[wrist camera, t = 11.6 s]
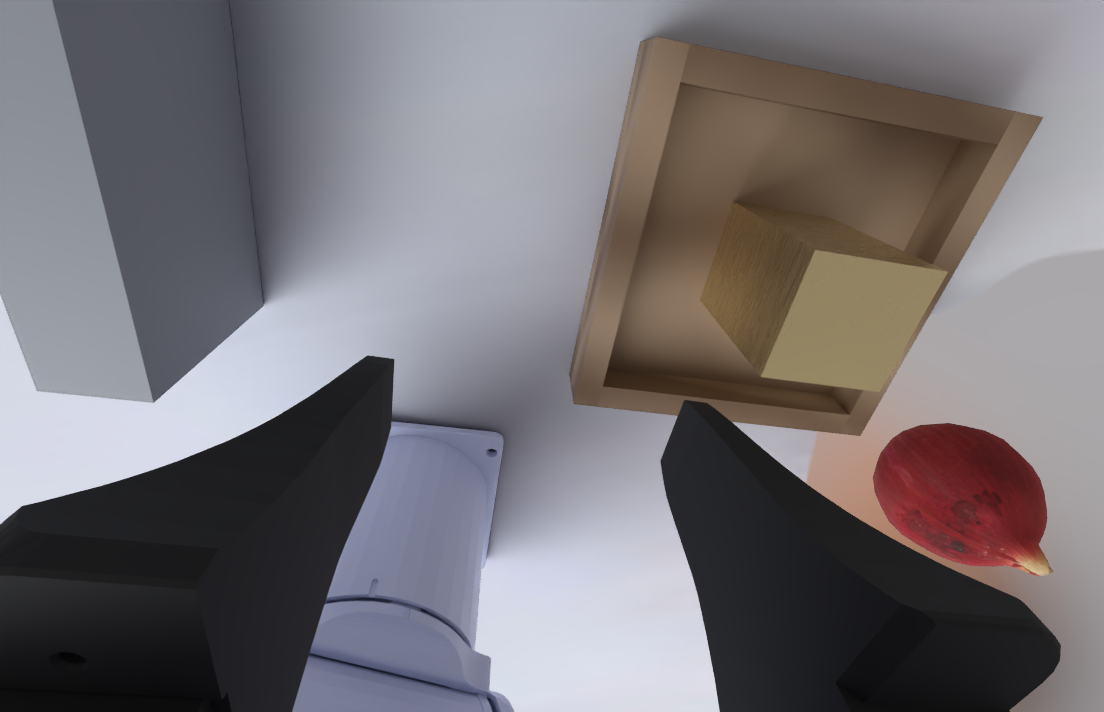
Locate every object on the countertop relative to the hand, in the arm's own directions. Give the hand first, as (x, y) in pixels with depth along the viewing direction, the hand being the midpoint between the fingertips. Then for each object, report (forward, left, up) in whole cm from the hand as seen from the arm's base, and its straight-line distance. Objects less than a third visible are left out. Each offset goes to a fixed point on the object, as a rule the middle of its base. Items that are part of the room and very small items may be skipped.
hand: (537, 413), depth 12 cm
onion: (-6, -20, -10) cm, 23 cm away
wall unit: (+4, +12, -9) cm, 16 cm away
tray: (+2, -9, -9) cm, 13 cm away
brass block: (+2, -9, -9) cm, 13 cm away
